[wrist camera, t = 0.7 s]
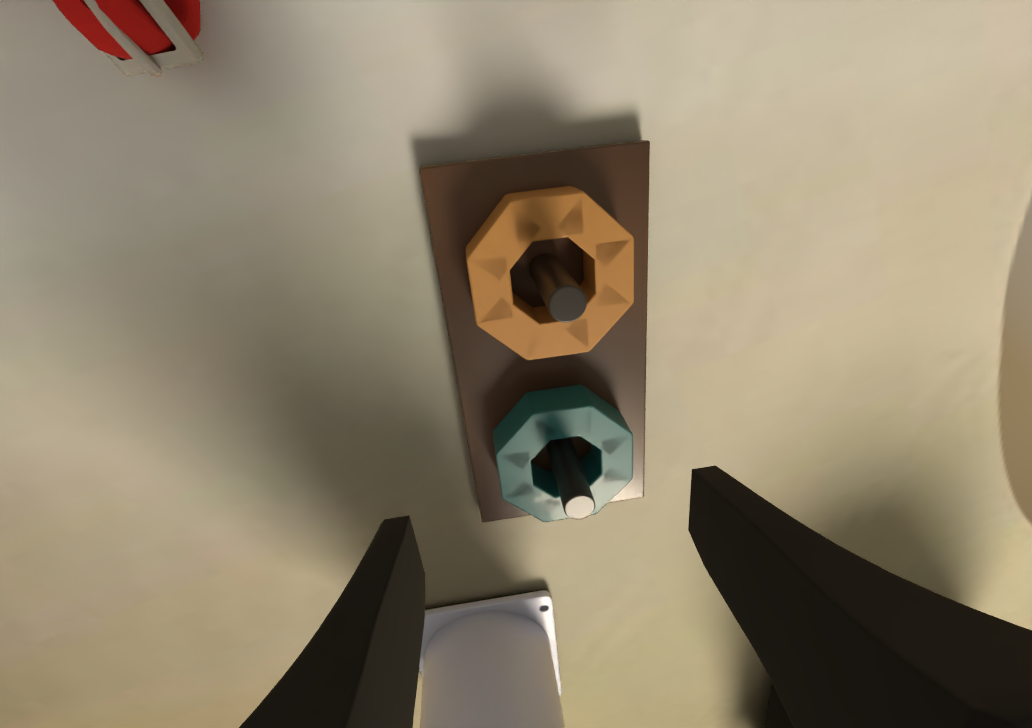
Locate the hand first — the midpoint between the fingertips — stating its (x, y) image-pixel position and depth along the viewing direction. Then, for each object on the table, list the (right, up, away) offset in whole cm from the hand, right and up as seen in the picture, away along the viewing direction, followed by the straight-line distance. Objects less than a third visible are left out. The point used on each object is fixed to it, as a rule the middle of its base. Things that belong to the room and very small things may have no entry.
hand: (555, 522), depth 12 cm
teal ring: (+1, 0, +10) cm, 10 cm away
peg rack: (0, +4, +9) cm, 10 cm away
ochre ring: (0, +8, +6) cm, 10 cm away
